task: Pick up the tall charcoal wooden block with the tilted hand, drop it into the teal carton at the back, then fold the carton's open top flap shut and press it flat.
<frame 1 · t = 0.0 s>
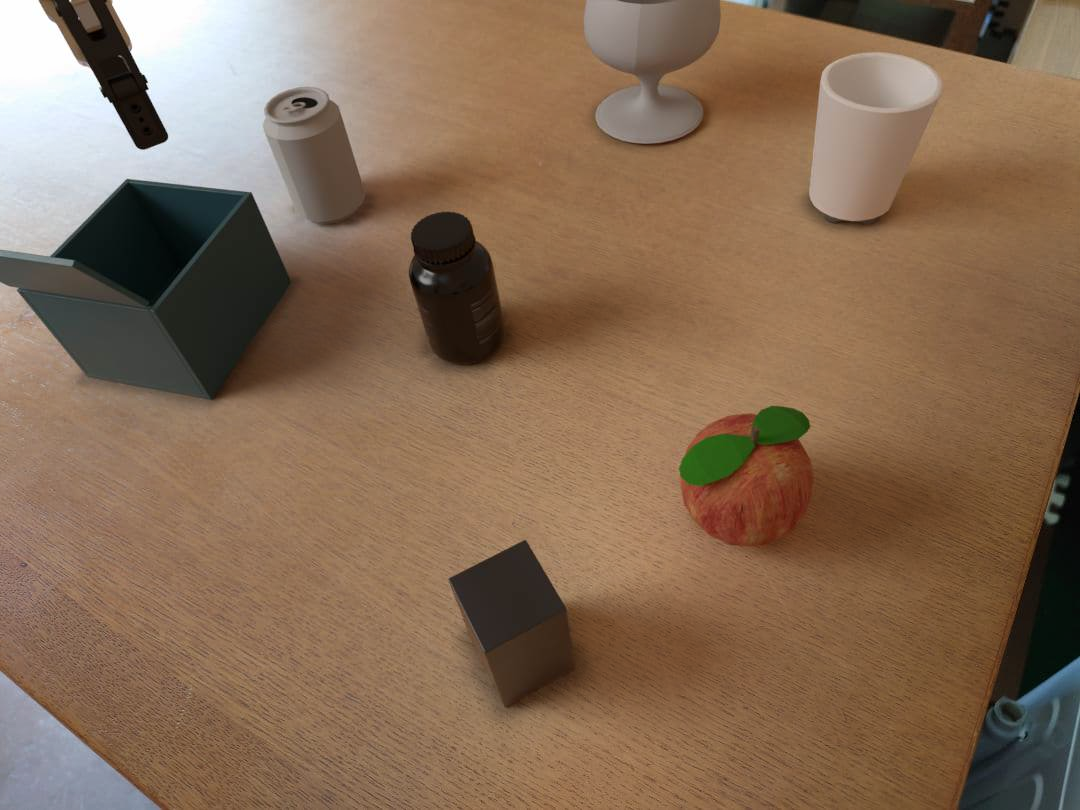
hand: (138, 117, 55), 21 cm above the table, tool pointing down, fingers open, 8 cm apart
cup: (847, 205, 76), on the table
flap: (39, 274, 56), point 15 cm above the table, hinge at 115.0°
supplement bottle: (467, 340, 69), on the table
carton: (193, 328, 72), on the table
can: (333, 207, 83), on the table
fruit: (736, 515, 55), on the table
chalice: (648, 118, 88), on the table
block: (522, 654, 50), on the table
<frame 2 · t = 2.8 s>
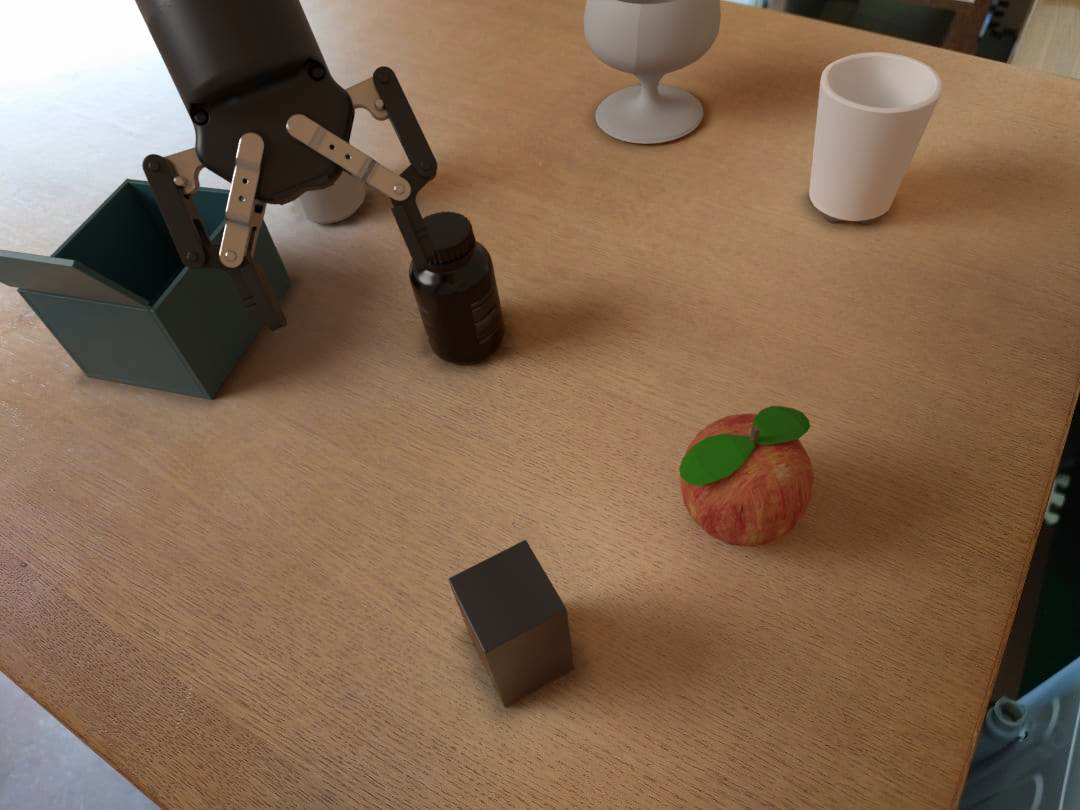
hand: (353, 299, 43), 20 cm above the table, tool tilted 40°, fingers open, 8 cm apart
nothing on the table moved.
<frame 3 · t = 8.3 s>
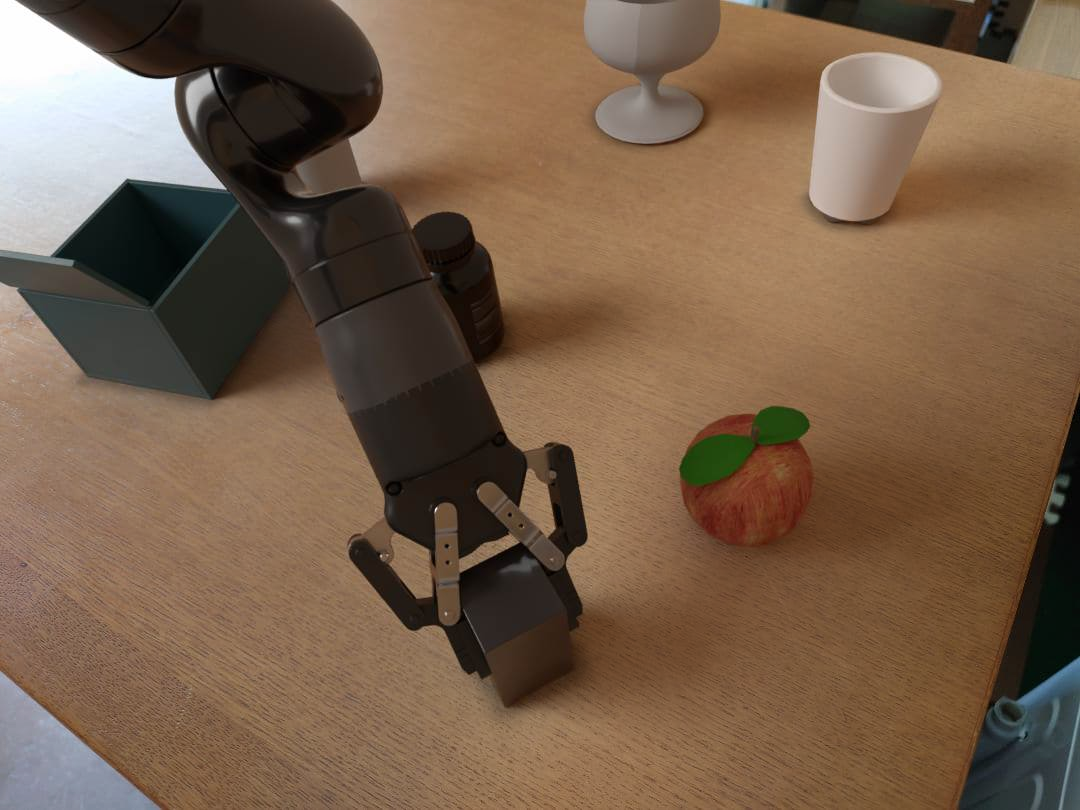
hand: (527, 647, 45), 5 cm above the table, tool tilted 45°, fingers closed on block, 5 cm apart
block: (522, 654, 50), on the table, touching gripper
everything else where it was.
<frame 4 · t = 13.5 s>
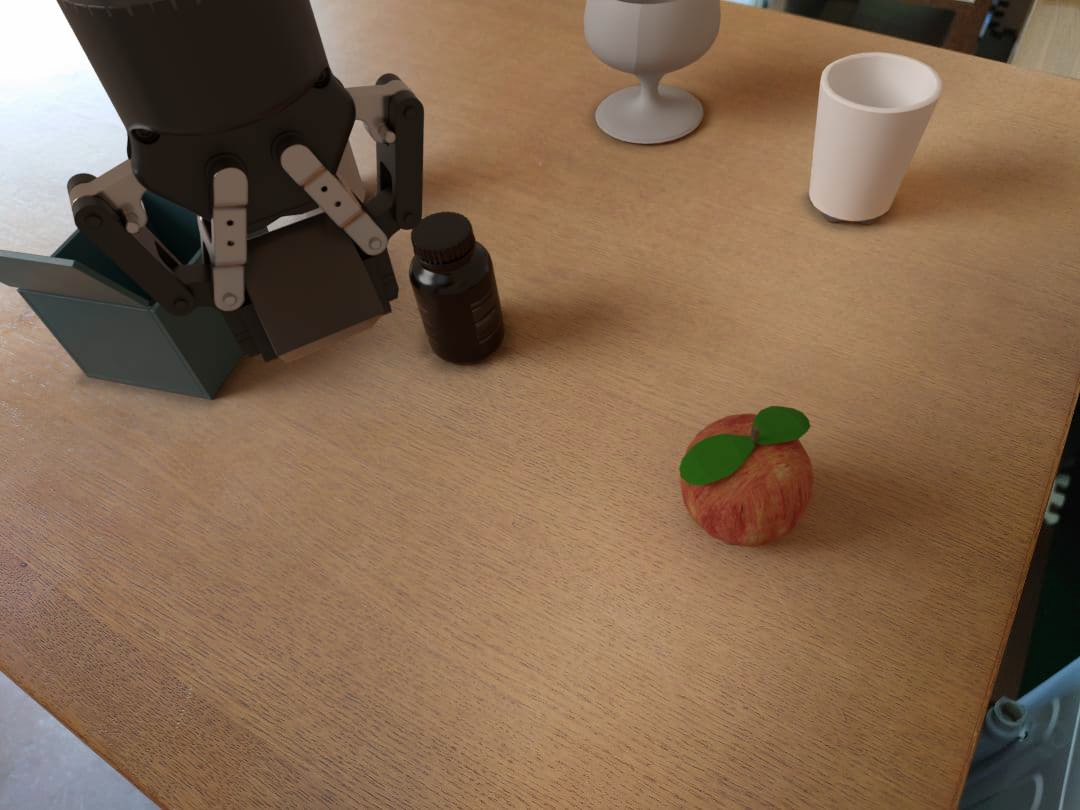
hand: (325, 325, 37), 23 cm above the table, tool pointing down, fingers closed on block, 5 cm apart
block: (309, 303, 42), point 21 cm above the table, tilted 45°, touching gripper
everything else where it was.
when the fingers open (15 cm above the table, at t = 19.5 s): block drops 10 cm and tips over, resting on carton.
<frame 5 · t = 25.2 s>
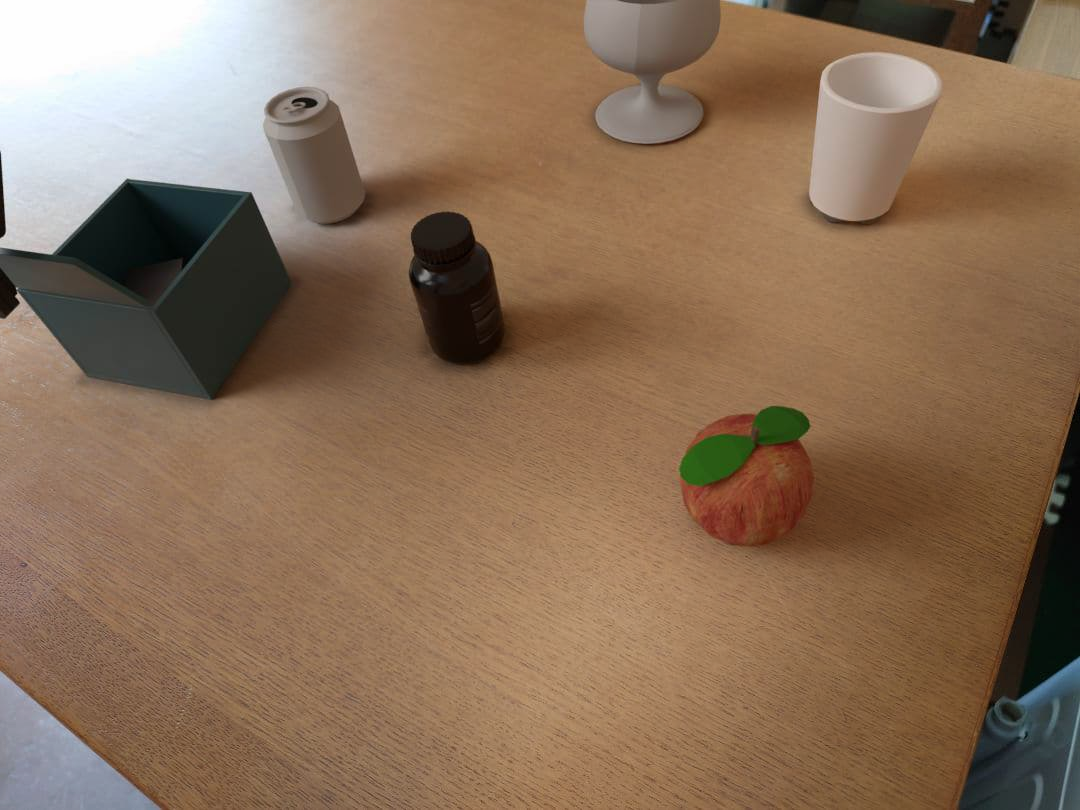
hand: (3, 309, 53), 15 cm above the table, tool pointing down, fingers closed
flap: (39, 273, 56), point 15 cm above the table, hinge at 113.8°, touching gripper
block: (167, 284, 72), point 3 cm above the table, tilted 90°, touching carton
everything else where it was.
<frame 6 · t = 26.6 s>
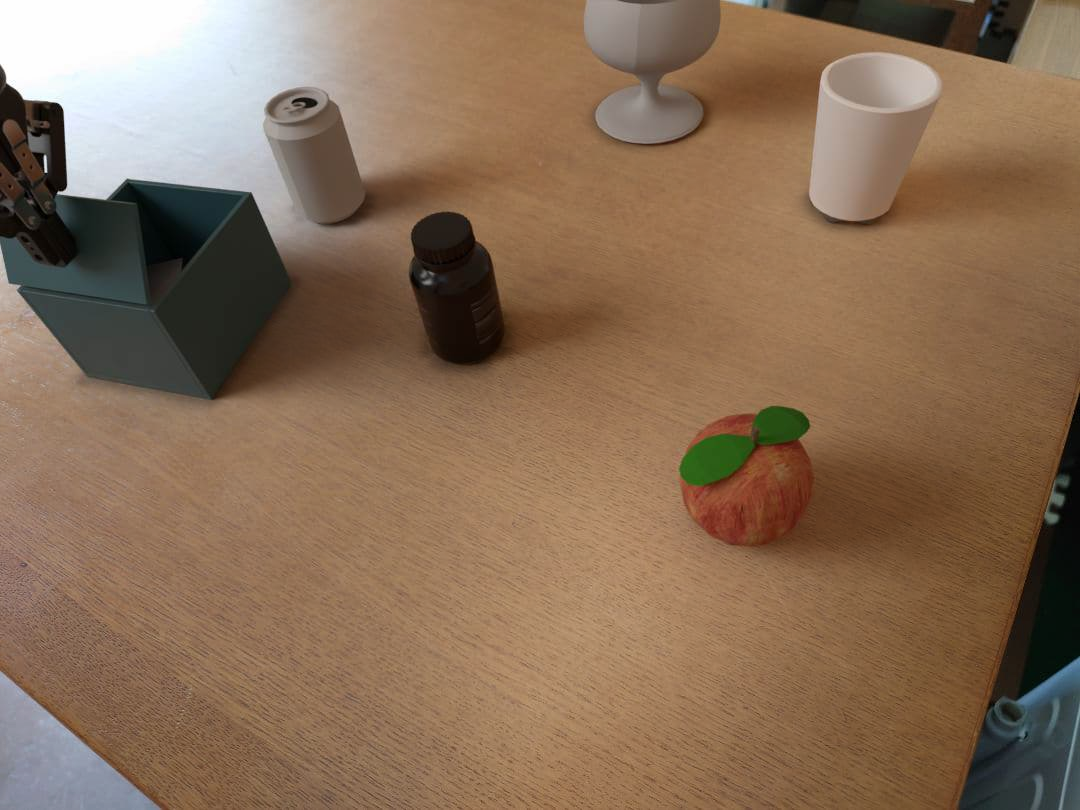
hand: (62, 259, 57), 14 cm above the table, tool pointing down, fingers closed
flap: (69, 245, 58), point 14 cm above the table, hinge at 61.0°
everything else where it was.
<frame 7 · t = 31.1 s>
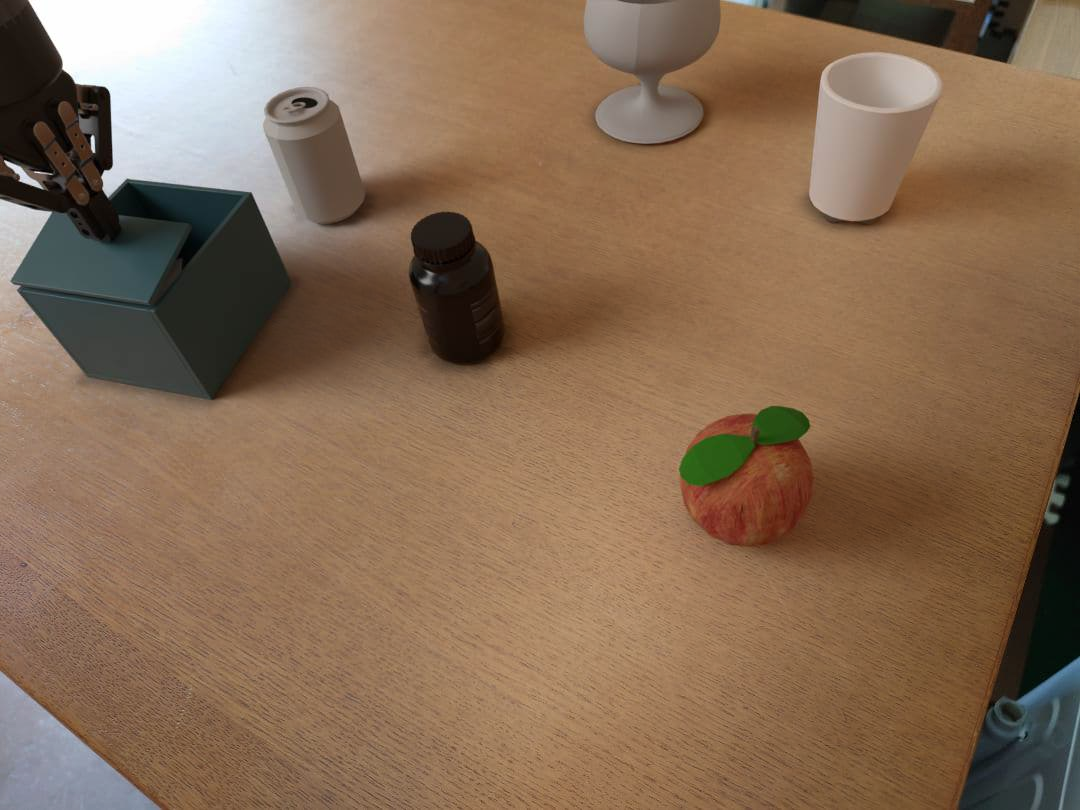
hand: (107, 235, 61), 13 cm above the table, tool pointing down, fingers closed
flap: (101, 254, 61), point 12 cm above the table, hinge at 13.9°, touching gripper
everything else where it was.
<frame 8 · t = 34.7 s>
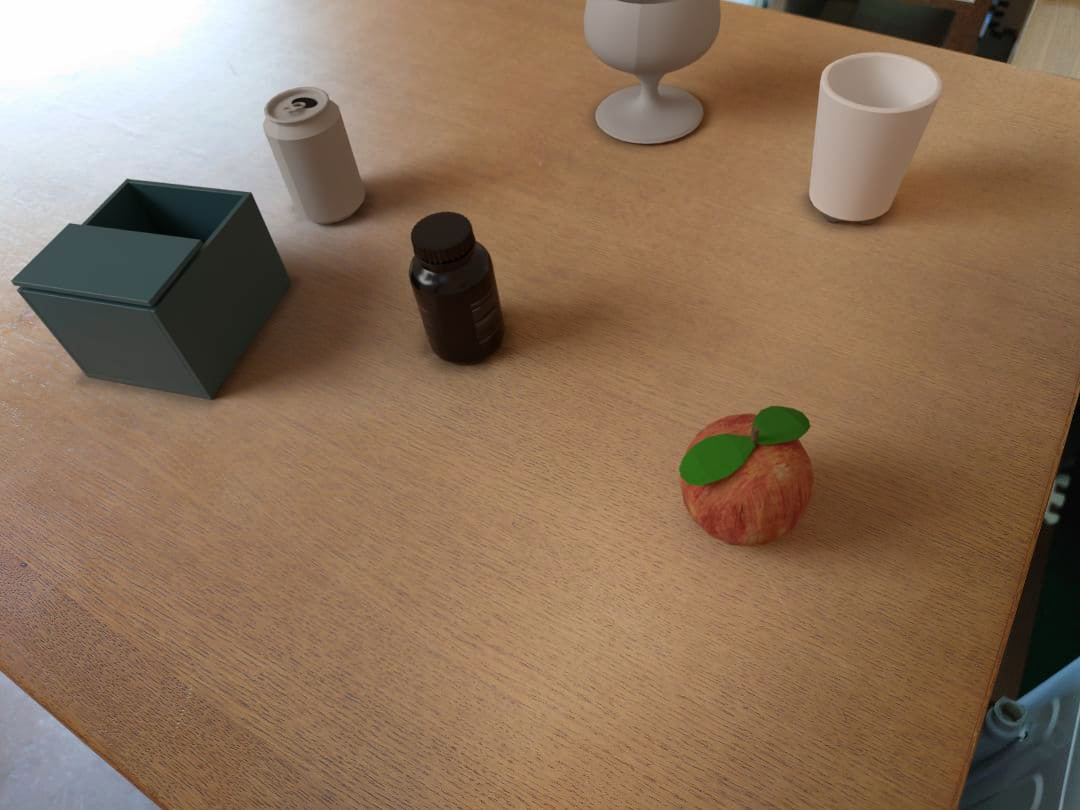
flap: (108, 262, 62), point 11 cm above the table, hinge at -0.1°
everything else where it was.
at the end: block inside the target area in the carton (3.5 cm from its centre), point 3.0 cm above the carton's base; flap at +0° (first picture: +115°) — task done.
